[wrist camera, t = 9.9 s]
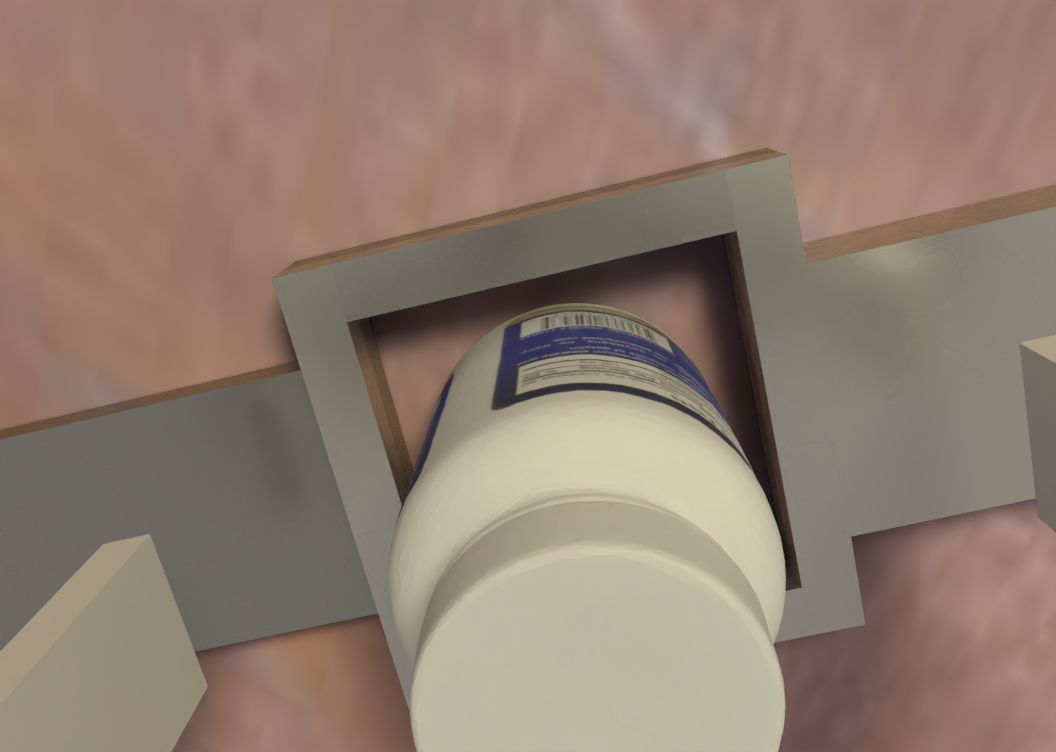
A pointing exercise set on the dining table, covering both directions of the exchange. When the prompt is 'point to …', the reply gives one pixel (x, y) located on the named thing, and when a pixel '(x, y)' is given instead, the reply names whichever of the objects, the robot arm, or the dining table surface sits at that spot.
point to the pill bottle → (586, 552)
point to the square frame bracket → (530, 252)
